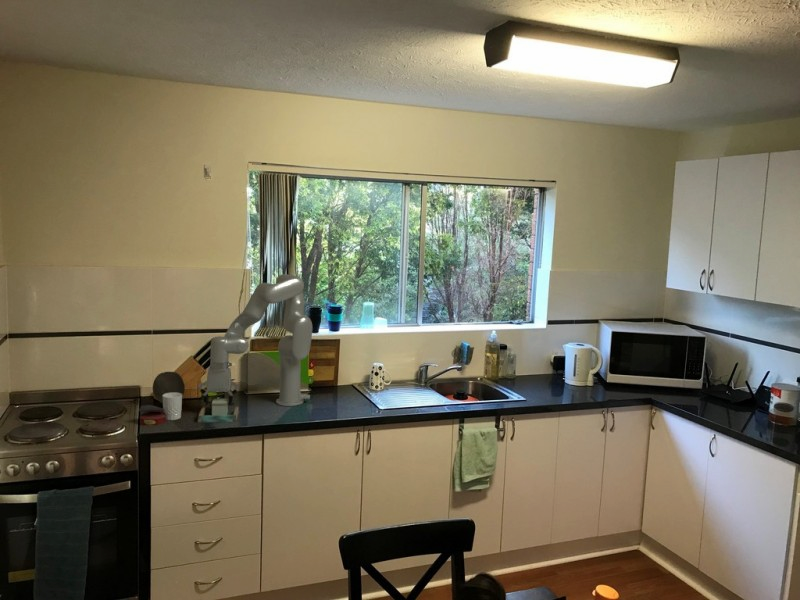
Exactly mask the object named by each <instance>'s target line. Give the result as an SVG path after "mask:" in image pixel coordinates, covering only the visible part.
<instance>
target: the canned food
mask: <svg viewBox="0 0 800 600" xmlns="http://www.w3.org/2000/svg"><path fill="white" fill-rule="evenodd" d="M138 410H139V412H142V414H140V416H139V423H140V425H141V424H142V426H145V425H147V426H148V425H154V426H159V425H158V424H160V425H162V423H163V424H165V423H166V419H165V413H164V411H165V410H164V409H163V407H162V408H161V407H158V406H155V405H150V404H145V405H142V406H140V408H139V409H138ZM147 426H146V427H147ZM148 427H149V426H148Z"/></svg>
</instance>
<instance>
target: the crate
mask: <svg viewBox="0 0 800 600" xmlns="http://www.w3.org/2000/svg"><path fill="white" fill-rule="evenodd" d="M228 405H229V398H213V400H212V402H211V415H228V412H229V410H228V409H229V406H228Z"/></svg>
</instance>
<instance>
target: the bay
mask: <svg viewBox="0 0 800 600" xmlns="http://www.w3.org/2000/svg"><path fill="white" fill-rule="evenodd" d="M205 413H206V407H201V409H200V410H199V413H198V416H197V423H227V422H228V423H230V422H231V423H232V422H233V423H234V422H237V421H238V416H239V406H235V408H234V411H233V414H227V415H212V414H211V415H205Z"/></svg>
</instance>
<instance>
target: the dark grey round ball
mask: <svg viewBox="0 0 800 600" xmlns="http://www.w3.org/2000/svg"><path fill="white" fill-rule="evenodd" d="M185 388H186V387H185V382H184V380H183V378H182V376H181V375H180V373H178V372H175V371H163V372H161V373H159V374H157V376H155V378H154V380H153V383H152V392H153V395H154V397H155V398H156V400H157V401H158V402H159V403H161V404H162V405H163V398H162V395H163V394H166V393H173V392H176V393H181V394H182V397H183V396H184V394H185Z"/></svg>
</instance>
